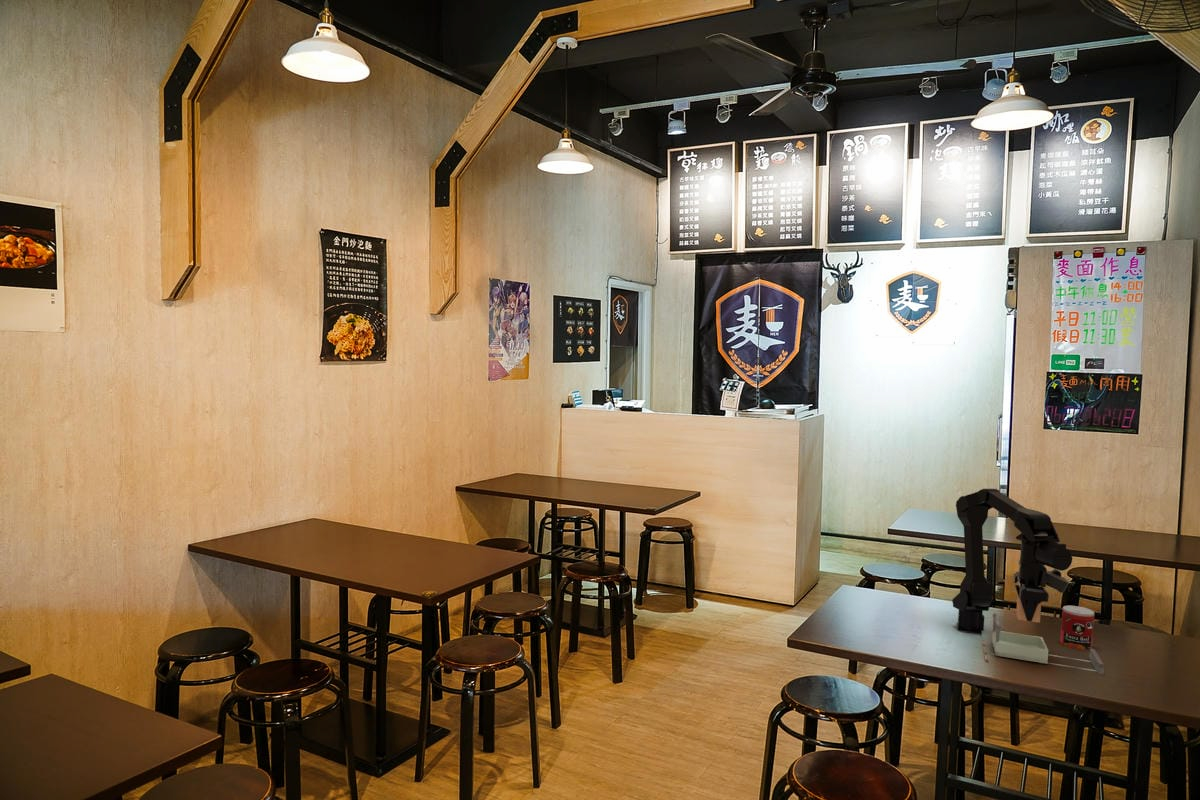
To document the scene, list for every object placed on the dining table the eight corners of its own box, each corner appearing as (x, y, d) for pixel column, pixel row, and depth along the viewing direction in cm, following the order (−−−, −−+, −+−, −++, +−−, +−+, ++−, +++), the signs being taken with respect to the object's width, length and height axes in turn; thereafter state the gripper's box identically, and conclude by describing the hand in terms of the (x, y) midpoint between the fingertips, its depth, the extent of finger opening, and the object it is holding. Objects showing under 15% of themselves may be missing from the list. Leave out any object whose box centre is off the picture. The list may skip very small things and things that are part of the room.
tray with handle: (994, 656, 206) (996, 624, 205) (990, 643, 216) (992, 612, 215) (1047, 665, 201) (1049, 632, 201) (1041, 651, 211) (1043, 619, 211)
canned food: (1060, 649, 216) (1063, 610, 216) (1059, 641, 223) (1061, 603, 223) (1093, 655, 213) (1096, 616, 212) (1090, 646, 220) (1093, 608, 219)
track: (985, 662, 204) (986, 648, 204) (981, 642, 219) (982, 629, 219) (1105, 682, 194) (1106, 667, 194) (1092, 660, 209) (1093, 646, 209)
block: (1018, 619, 206) (1019, 600, 206) (1016, 616, 210) (1017, 597, 211) (1039, 622, 204) (1041, 603, 204) (1037, 619, 209) (1038, 600, 209)
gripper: (1073, 573, 195) (1068, 634, 196) (1061, 556, 212) (1056, 612, 213) (1023, 566, 199) (1019, 626, 200) (1015, 551, 216) (1011, 606, 217)
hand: (1027, 617), depth 207 cm, fingers closed on block, 5 cm apart
